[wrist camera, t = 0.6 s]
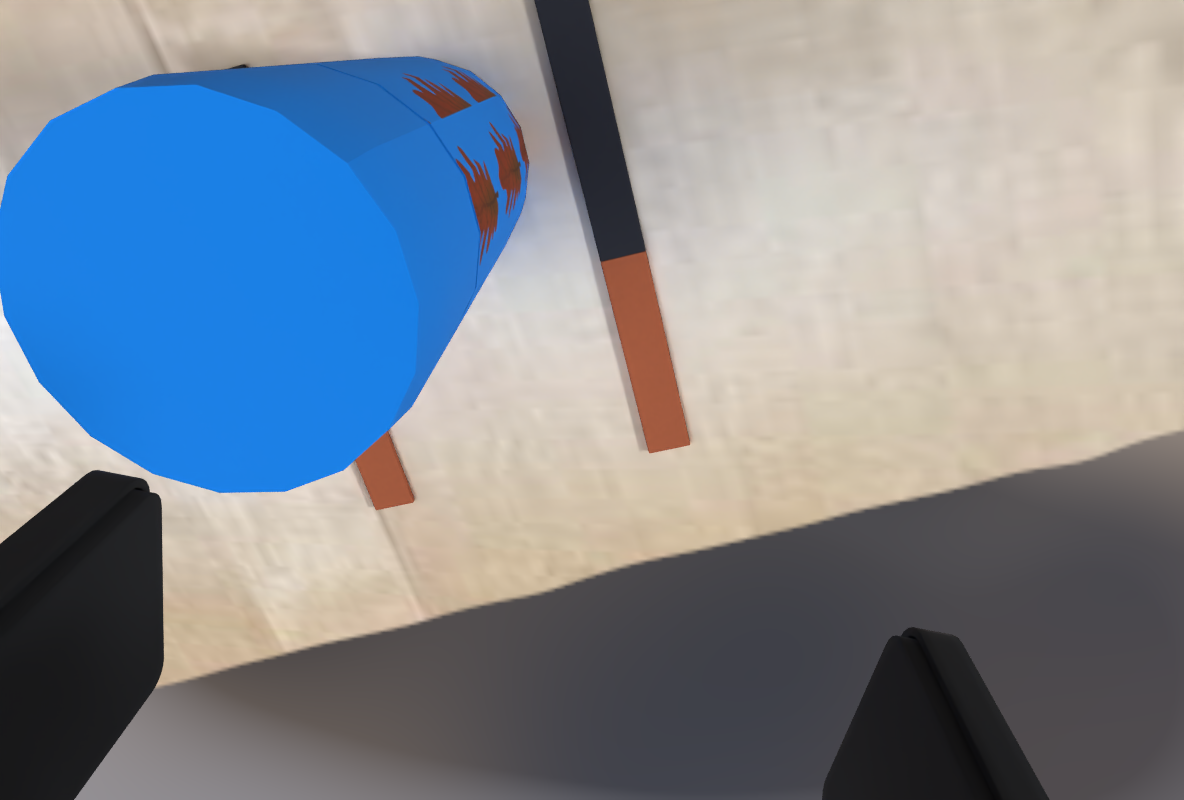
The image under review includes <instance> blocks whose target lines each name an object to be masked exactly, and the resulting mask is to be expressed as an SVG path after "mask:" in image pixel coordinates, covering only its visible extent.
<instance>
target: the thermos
mask: <svg viewBox="0 0 1184 800" xmlns="http://www.w3.org/2000/svg"><path fill="white" fill-rule="evenodd" d="M528 168H529V160H528V156H527V152H526V148H525V144H524V140H523V135H522V131H521V127H520V125H519V124H518V122H517V121H516V119H515V118H514V116H513V114H512V113H511V111H510V110H509V108H508V106H507V105H506V103H505V102H504V100H503V99H502V97H501V95H500V94H498V93H497V92H496V91H495V90H493V89H492V88H491V87H490V86H488V85H487V84H486V83H485V82H483V81H482V80H481V79H480V78H478V77H477V76H476V75H475V74H473V73H472V72H471V71H468V70H465V69H462V68H459V67H456V66H453V65H450V64H447V63H444V62H441V61H438V60H435V59H430V58H424V57H419V56H416V57H394V58H374V59H360V60H347V61H333V62H320V63H306V64H292V65H279V66H265V67H252V68H238V69H225V70H211V71H198V72H184V73H171V74H157V75H151V76H148V77H146V78H143V79H140V80H137V81H134V82H131V83H129V84H126V85H123V86H120V87H117V88H115V89H113V90H111V91H109V92H107V93H105V94H103V95H101V96H99V97H97V98H95V99H93V100H91V101H89V102H86V103H84V104H82V105H80V106H78V107H76V108H74V109H72V110H70V111H68V112H66V113H64V114H62V115H60V116H58V117H56V118H54V119H52V120H50V121H49V122H48V124H47V125H46V126H45V128H44V129H43V130H42V132H41V133H40V134H39V135H38V137H37V138H36V139H35V141H34V142H33V143H32V145H31V146H30V147H29V148H28V150H27V151H26V152H25V154H24V155H23V156H22V158H21V159H20V160H19V162H18V163H17V164H16V165H15V167H14V168H13V169H12V171H11V172H10V173H9V175H8V176H7V180H6V185H5V189H4V194H3V199H2V203H1V208H0V293H1V299H2V305H3V311H4V316H5V318H6V320H7V322H8V324H9V326H10V328H11V330H12V331H13V333H14V335H15V337H16V339H17V341H18V343H19V345H20V347H21V349H22V351H23V352H24V354H25V356H26V358H27V360H28V362H29V364H30V366H31V368H32V370H33V371H34V373H35V375H36V377H37V379H38V381H39V383H40V384H41V385H42V386H43V387H44V388H45V389H46V390H47V391H48V392H49V393H50V394H51V395H52V396H53V397H54V398H55V399H56V400H57V401H58V402H59V403H60V405H61V406H62V407H63V408H64V409H65V410H66V411H67V412H68V413H69V414H70V415H71V416H72V417H73V418H74V419H75V420H76V421H77V422H78V423H79V424H80V425H81V426H82V428H83V429H84V430H85V431H86V432H87V433H88V434H89V435H90V436H91V437H93V438H95V439H96V440H98V441H100V442H101V443H103V444H105V445H106V446H108V447H110V448H111V449H113V450H115V451H116V452H118V453H119V454H121V455H123V456H124V457H126V458H128V459H129V460H131V461H133V462H134V463H136V464H138V465H139V466H141V467H143V468H144V469H146V470H148V471H149V472H151V473H152V474H155V475H159V476H163V477H166V478H170V479H173V480H177V481H180V482H184V483H187V484H191V485H194V486H198V487H201V488H205V489H208V490H212V491H216V492H219V493H232V492H285V491H288V490H291V489H294V488H296V487H299V486H302V485H305V484H307V483H310V482H313V481H315V480H318V479H321V478H324V477H326V476H329V475H332V474H335V473H337V472H340V471H343V470H344V469H345V468H347V467H348V466H349V465H350V464H351V463H352V462H353V461H354V460H355V459H357V458H358V457H359V456H360V455H361V454H362V453H363V452H364V451H366V450H367V449H368V448H369V447H370V446H371V445H372V444H373V443H374V442H376V441H377V440H378V439H379V438H380V437H381V436H382V435H383V434H385V433H386V432H387V431H388V430H389V429H390V428H391V427H392V426H393V425H394V424H395V423H396V422H397V421H398V420H399V419H400V418H401V417H402V416H403V415H404V414H405V413H406V412H407V411H408V410H409V409H410V408H411V407H412V405H413V404H414V402H415V400H416V399H417V397H418V395H419V393H420V392H421V390H422V388H423V387H424V385H425V383H426V381H427V380H428V378H429V376H430V374H431V373H432V371H433V369H434V368H435V366H436V364H437V362H438V361H439V359H440V357H441V355H442V354H443V352H444V350H445V349H446V347H447V345H448V343H449V342H450V340H451V338H452V337H453V335H454V333H455V331H456V330H457V328H458V326H459V324H460V323H461V321H462V319H463V318H464V316H465V314H466V312H467V311H468V309H469V307H470V305H471V304H472V302H473V300H474V299H475V297H476V295H477V293H478V292H479V290H480V288H481V286H482V285H483V283H484V281H485V280H486V278H487V276H488V274H489V273H490V271H491V269H492V268H493V266H494V264H495V262H496V261H497V259H498V257H499V255H500V254H501V252H502V250H503V249H504V247H505V245H506V243H507V241H508V239H509V237H510V235H511V232H512V230H513V228H514V226H515V224H516V222H517V220H518V218H519V216H520V214H521V211H522V208H523V205H524V201H525V198H526V188H527V178H528Z"/></svg>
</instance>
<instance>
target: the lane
mask: <svg viewBox="0 0 1184 800" xmlns="http://www.w3.org/2000/svg"><path fill="white" fill-rule="evenodd" d="M535 4H536V8H537V12H538V16H539V20H540V24H541V28H542V32H543V36H544V40H545V44H546V48H547V52H548V56H549V60H550V64H551V68H552V72H553V75H554V79H555V83H556V87H557V91H558V95H559V99H560V103H561V107H562V111H563V115H564V119H565V123H566V127H567V131H568V135H569V139H570V143H571V147H572V151H573V154H574V158H575V162H576V166H577V170H578V174H579V178H580V182H581V186H582V190H583V194H584V198H585V202H586V206H587V210H588V214H589V218H590V222H591V226H592V229H593V233H594V237H595V241H596V245H597V249H598V253H599V257H600V261H601V265H602V269H603V273H604V277H605V281H606V285H607V289H608V293H609V297H610V301H611V305H612V308H613V312H614V316H615V320H616V324H617V328H618V332H619V336H620V340H621V344H622V348H623V352H624V356H625V360H626V364H627V368H628V372H629V376H630V380H631V384H632V387H633V391H634V395H635V399H636V403H637V407H638V411H639V415H640V419H641V423H642V427H643V431H644V435H645V439H646V443H647V447H648V451H649V453H654V452H659V451H663V450H668V449H673V448H678V447H683V446H688V445H690V441H689V436H688V432H687V428H686V423H685V419H684V415H683V410H682V406H681V402H680V397H679V393H678V388H677V384H676V380H675V375H674V371H673V367H672V362H671V358H670V354H669V349H668V345H667V341H666V336H665V332H664V328H663V323H662V319H661V315H660V310H659V306H658V301H657V297H656V293H655V288H654V284H653V280H652V275H651V271H650V267H649V262H648V258H647V254H646V250H645V245H644V241H643V236H642V232H641V228H640V223H639V219H638V215H637V210H636V206H635V201H634V197H633V193H632V188H631V184H630V180H629V175H628V171H627V167H626V162H625V158H624V154H623V149H622V145H621V141H620V136H619V132H618V128H617V123H616V119H615V114H614V110H613V106H612V101H611V97H610V93H609V88H608V84H607V80H606V75H605V71H604V67H603V62H602V58H601V54H600V49H599V45H598V41H597V36H596V32H595V27H594V23H593V19H592V14H591V10H590V6H589V1H588V0H535ZM238 68H246V66H245V65H240V66H237V67H233V68H230V69H238ZM355 461H356V463H357V465H358V468H359V470H360V473H361V475H362V477H363V480H364V482H365V485H366V487H367V490H368V492H369V494H370V497H371V499H372V502H373V504H374V507H375V509H376V510H379V509H384V508H389V507H394V506H399V505H403V504H408V503H413V502H414V497H413V494H412V492H411V489H410V487H409V484H408V481H407V479H406V476H405V474H404V471H403V469H402V466H401V463H400V461H399V458H398V456H397V453H396V451H395V448H394V445H393V443H392V440H391V438H390V435H389V433H388V431H387V432H386V433H385V434H383V435H382V436H381V437H380V438H379V439H378V440H377V441H376V442H374V443H373V444H372V445H371V446H370V447H369V448H368V449H367V450H366V451H364V452H363V453H362V454H361V455H360V456H359V457H358V458H357V459H355Z"/></svg>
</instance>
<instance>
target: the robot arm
mask: <svg viewBox="0 0 1184 800" xmlns="http://www.w3.org/2000/svg"><path fill="white" fill-rule="evenodd" d="M163 662H164V636H163V567H162V505H161V499H160V497H159V495H158V494H156V493H151V492H150V490H149V486H148V484H147V482H146V481H145V480H143V479H141V478H136V477H131V476H126V475H121V474H116V473H110V472H105V471H100V470H95V471H91V472H89V473H88V474H86V475H85V476H84V477H82V478H81V479H80V480H79V481H77V482H76V483H75V484H74V485H72V486H71V487H70V488H69V489H67V490H66V491H65V492H64V493H62V494H61V495H60V496H59V497H58V498H56V499H55V500H54V501H53V502H51V503H50V504H49V505H48V506H46V507H45V508H44V509H43V510H41V511H40V512H39V513H38V514H37V515H35V516H34V517H33V518H32V519H30V520H29V521H28V522H27V523H25V524H24V525H23V526H22V527H20V528H19V529H18V530H17V531H16V532H14V533H13V534H12V535H11V536H9V537H8V538H7V539H6V540H4V541H3V542H2V543H1V544H0V800H74V799H75V798H76V796H77V795H78V794H79V792H80V791H81V789H82V788H83V787H84V785H85V784H86V782H87V781H88V780H89V778H90V777H91V776H92V774H93V773H94V771H95V770H96V768H97V767H98V766H99V764H100V763H101V762H102V760H103V759H104V758H105V756H106V755H107V753H108V752H109V751H110V749H111V748H112V747H113V745H114V744H115V742H116V741H117V740H118V738H119V737H120V736H121V734H122V733H123V731H124V730H125V729H126V727H127V726H128V724H129V723H130V722H131V720H132V719H133V717H134V716H135V715H136V713H137V712H138V711H139V709H140V708H141V706H142V705H143V704H144V702H145V701H146V700H147V698H148V697H149V695H150V694H151V693H152V691H153V690H154V688H155V686H156V684H157V682H158V680H159V678H160V675H161V672H162V668H163ZM822 800H1049V798H1048V797H1047V794H1046V793H1045V791H1044V789H1043V788H1042V786H1041V784H1040V782H1039V780H1038V778H1037V777H1036V775H1035V773H1034V771H1033V769H1032V768H1031V766H1030V764H1029V762H1028V761H1027V759H1026V757H1025V755H1024V753H1023V751H1022V750H1021V748H1020V746H1019V744H1018V742H1017V741H1016V739H1015V737H1014V735H1013V734H1012V732H1011V730H1010V728H1009V726H1008V725H1007V723H1006V721H1005V719H1004V717H1003V715H1002V714H1001V712H1000V710H999V709H998V707H997V705H996V703H995V701H994V699H993V697H992V696H991V694H990V692H989V691H988V688H987V687H986V685H985V683H984V681H983V679H982V678H981V676H980V674H979V672H978V670H977V669H976V667H975V665H974V664H973V662H972V660H971V658H970V656H969V655H968V652H967V651H966V649H965V647H964V645H963V644H962V642H961V641H960V640H959V638H958V637H956V636H954V635H951V634H946V633H940V632H935V631H930V630H925V629H920V628H915V627H912V628H908V629H907V630H905V631H904V632H903V634H902V635H901V636H892V637H891V638H890V639H889V640H888V642H887V644H886V646H885V648H884V650H883V653H882V655H881V657H880V659H879V661H878V664H877V666H876V668H875V670H874V673H873V675H872V677H871V679H870V682H869V684H868V686H867V688H866V691H865V693H864V695H863V697H862V699H861V702H860V704H859V706H858V708H857V711H856V713H855V715H854V717H853V719H852V722H851V724H850V726H849V728H848V731H847V733H846V735H845V738H844V740H843V742H842V744H841V747H840V749H839V751H838V753H837V756H836V757H835V760H834V762H833V764H832V767H831V769H830V771H829V773H828V775H827V778H826V780H825V783H824V788H823V796H822Z"/></svg>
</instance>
